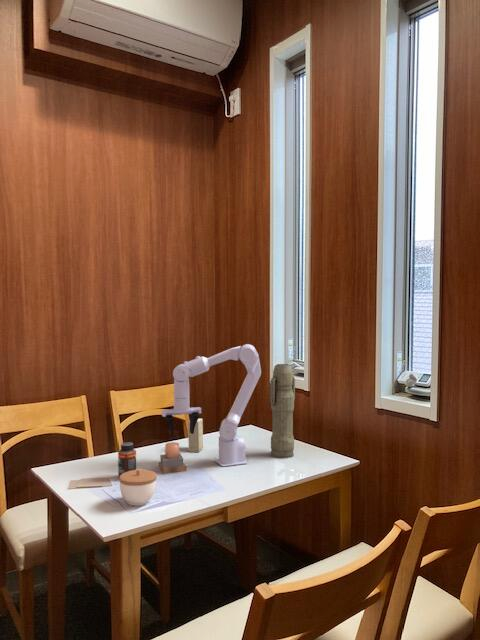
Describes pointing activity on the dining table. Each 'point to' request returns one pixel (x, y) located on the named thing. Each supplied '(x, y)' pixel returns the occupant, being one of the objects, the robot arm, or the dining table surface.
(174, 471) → the walnut slab
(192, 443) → the skincare box
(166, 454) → the terracotta cylinder
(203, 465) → the dining table surface
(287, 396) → the thermos
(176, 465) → the grey flat block
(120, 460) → the supplement bottle
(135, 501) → the lidded jar
